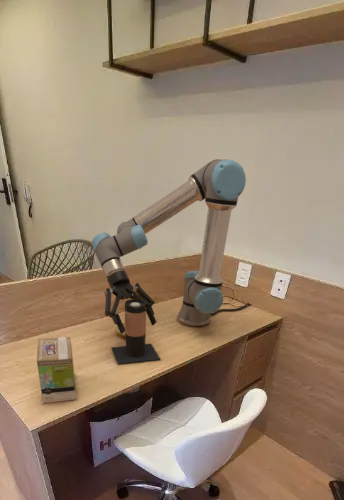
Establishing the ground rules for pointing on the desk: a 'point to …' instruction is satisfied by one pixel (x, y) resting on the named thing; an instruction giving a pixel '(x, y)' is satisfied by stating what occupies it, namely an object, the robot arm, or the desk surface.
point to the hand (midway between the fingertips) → (139, 327)
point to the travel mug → (135, 327)
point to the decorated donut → (119, 331)
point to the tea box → (56, 369)
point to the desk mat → (125, 359)
